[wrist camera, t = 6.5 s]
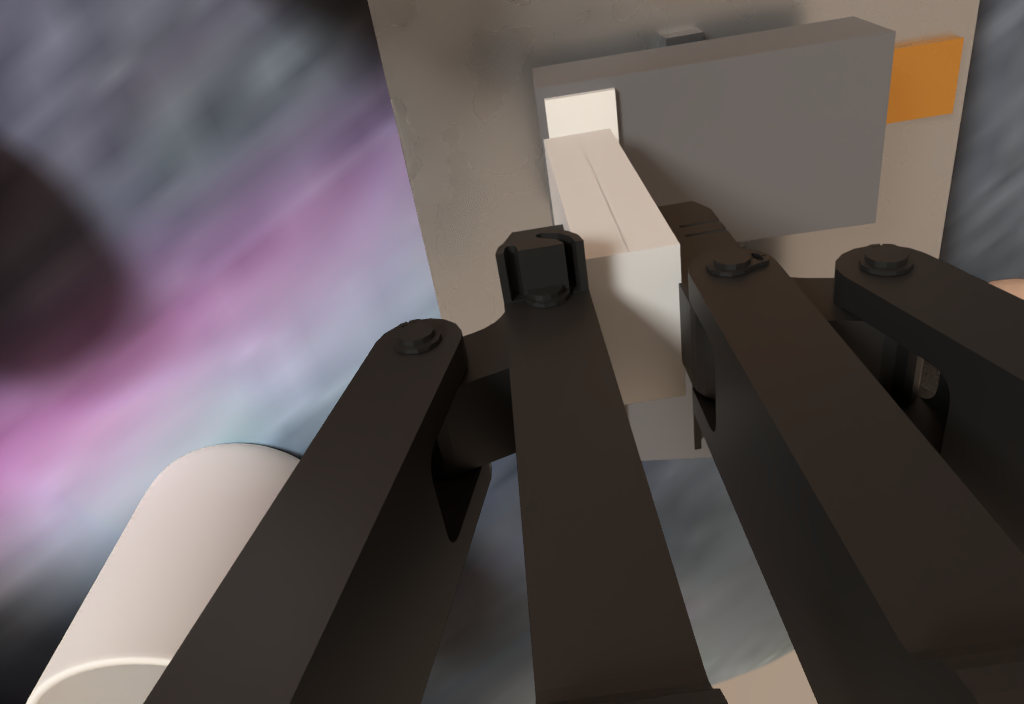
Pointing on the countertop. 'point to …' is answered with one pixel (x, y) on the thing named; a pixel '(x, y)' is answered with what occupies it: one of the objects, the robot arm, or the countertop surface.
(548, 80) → the block
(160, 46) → the countertop surface
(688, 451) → the block
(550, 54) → the panel
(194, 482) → the cup
